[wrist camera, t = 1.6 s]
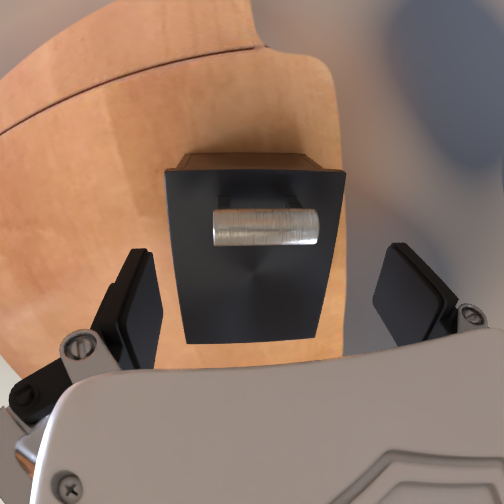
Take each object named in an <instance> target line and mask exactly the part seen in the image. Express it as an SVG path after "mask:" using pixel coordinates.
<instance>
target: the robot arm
mask: <svg viewBox="0 0 504 504" xmlns="http://www.w3.org/2000/svg"><path fill="white" fill-rule="evenodd" d="M458 300H459V299H458V298H457V296H456V295H455V294H454V293H453V292H452V291H451V290H450V289H449V288H448V286H447V285H446V284H445V283H444V282H443V281H442V280H441V279H440V278H439V277H438V276H437V274H435V273H434V271H433V270H432V269H431V268H430V267H429V266H428V265H427V264H426V263H425V262H424V261H423V260H422V259H421V258H420V257H419V256H418V255H417V254H416V253H415V252H414V251H413V250H412V249H411V248H410V247H409V246H408V245H407V244H406V243H392V244H391V245H390V246H389V247H388V249H387V251H386V255H385V259H384V262H383V266H382V269H381V273H380V276H379V279H378V283H377V286H376V289H375V292H374V295H373V305H374V307H375V309H376V310H377V312H378V314H379V315H380V317H381V319H382V320H383V322H384V324H385V325H386V327H387V329H388V330H389V332H390V334H391V335H392V337H393V339H394V341H395V342H396V344H397V346H398V347H396V348H391V349H385V350H380V351H375V352H369V353H363V354H357V355H351V356H345V357H338V358H331V359H323V360H315V361H307V362H298V363H288V364H277V365H265V366H251V367H232V368H201V369H153V368H154V362H155V357H156V351H157V345H158V340H159V335H160V329H161V324H162V319H163V307H162V302H161V297H160V292H159V287H158V281H157V276H156V270H155V265H154V259H153V254H152V252H148V251H147V249H146V248H141V249H131V251H130V253H129V255H128V257H127V259H126V261H125V263H124V265H123V267H122V269H121V271H120V273H119V275H118V277H117V279H116V281H115V283H112V284H110V286H109V288H108V290H107V292H106V294H105V296H104V298H103V301H102V303H101V305H100V307H99V309H98V312H97V314H96V316H95V318H94V321H93V323H92V325H91V328H90V329H80V330H77V331H74V332H72V333H70V334H69V335H67V336H66V337H65V338H64V339H63V341H62V343H61V344H60V349H59V352H60V356H61V357H60V358H59V359H57V360H55V361H54V362H52V363H50V364H48V365H47V366H45V367H43V368H41V369H40V370H38V371H36V372H35V373H33V374H31V375H29V376H28V377H26V378H24V379H22V380H21V381H19V382H18V383H17V384H15V385H14V387H13V388H12V389H11V393H10V394H9V406H8V407H7V408H5V407H4V406H2V407H1V408H0V498H1V499H2V501H3V502H4V503H5V504H504V330H502V329H496V328H489V327H488V323H487V318H486V316H485V314H484V313H483V312H482V311H481V310H480V309H479V308H478V307H476V306H474V305H471V304H461V305H460V306H459V308H458V309H457V308H456V307H455V306H456V304H457V302H458Z"/></svg>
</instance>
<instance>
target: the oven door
mask: <svg viewBox="0 0 504 504" xmlns="http://www.w3.org/2000/svg"><path fill="white" fill-rule="evenodd" d="M164 176H165V189H166V201H167V212H168V222H169V231H170V240H171V248H172V256H173V264H174V271H175V278H176V285H177V291H178V298H179V304H180V310H181V316H182V322H183V327H184V333H185V338H186V343H187V344H227V343H252V342H270V341H284V340H297V339H308V338H315V335H316V331H317V327H318V323H319V319H320V314H321V310H322V306H323V301H324V297H325V292H326V288H327V283H328V278H329V273H330V268H331V263H332V258H333V253H334V248H335V242H336V237H337V231H338V225H339V219H340V213H341V206H342V200H343V193H344V186H345V178H346V173H345V172H344V171H342V170H337V169H321V168H300V167H262V166H228V167H191V168H170V169H166V171H165V172H164Z"/></svg>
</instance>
